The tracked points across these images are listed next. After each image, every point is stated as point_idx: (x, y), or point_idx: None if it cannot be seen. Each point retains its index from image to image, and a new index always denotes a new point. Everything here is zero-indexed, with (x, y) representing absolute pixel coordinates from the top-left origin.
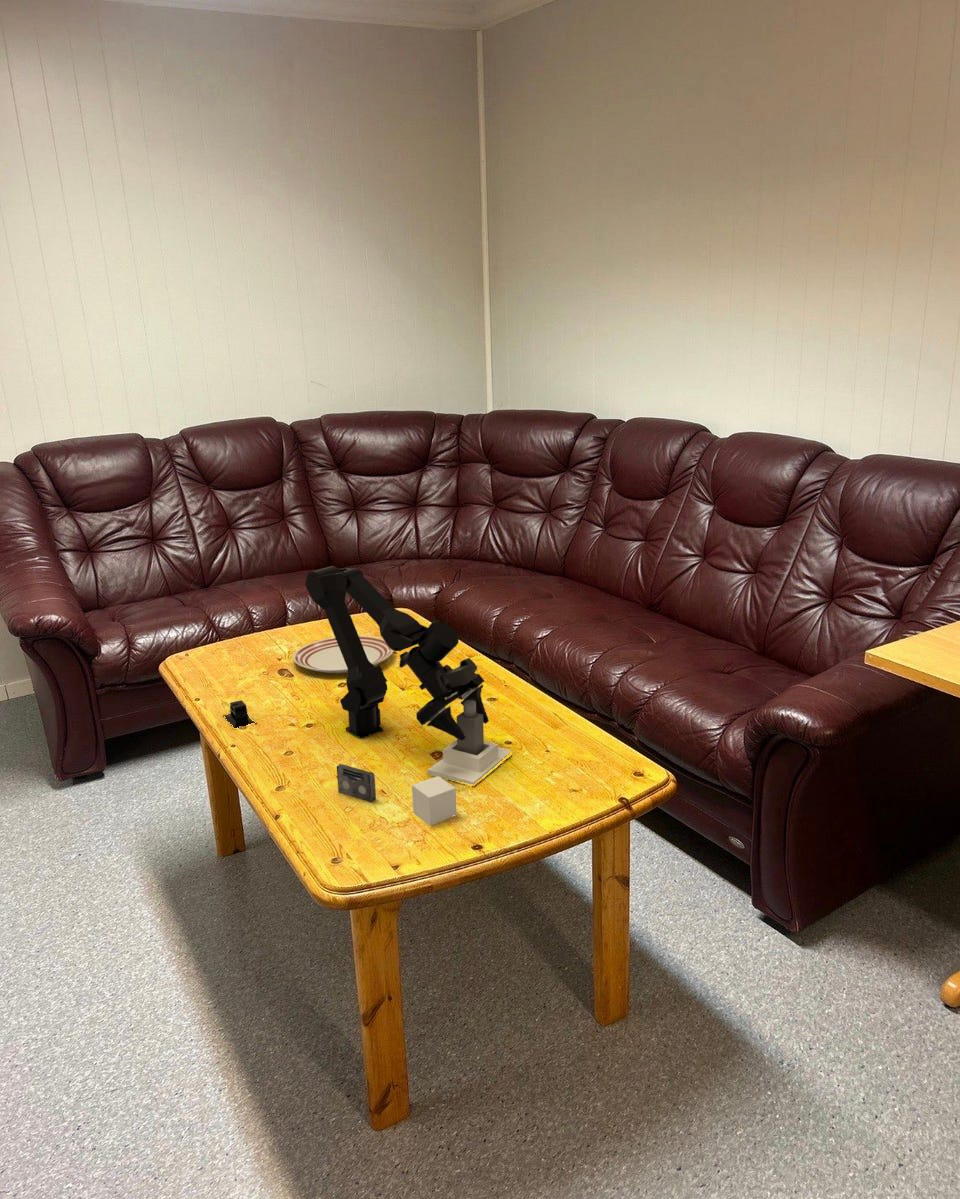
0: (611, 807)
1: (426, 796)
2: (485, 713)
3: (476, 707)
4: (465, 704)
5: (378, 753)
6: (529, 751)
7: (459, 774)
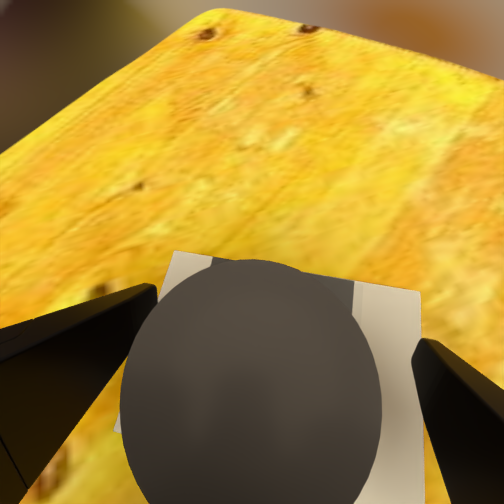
0: (343, 33)
1: None
2: (107, 299)
3: (54, 378)
4: (378, 435)
5: None
6: (147, 223)
7: (395, 359)
